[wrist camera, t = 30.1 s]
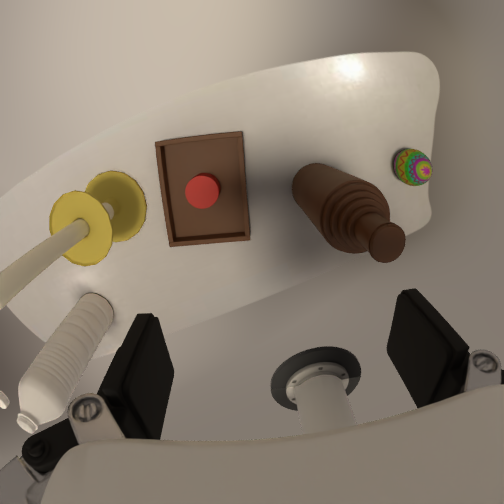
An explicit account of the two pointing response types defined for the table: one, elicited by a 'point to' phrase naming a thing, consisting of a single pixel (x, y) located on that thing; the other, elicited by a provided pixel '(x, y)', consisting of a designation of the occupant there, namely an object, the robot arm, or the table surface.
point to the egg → (412, 167)
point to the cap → (202, 190)
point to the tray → (188, 166)
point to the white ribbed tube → (61, 363)
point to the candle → (81, 229)
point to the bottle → (348, 212)
